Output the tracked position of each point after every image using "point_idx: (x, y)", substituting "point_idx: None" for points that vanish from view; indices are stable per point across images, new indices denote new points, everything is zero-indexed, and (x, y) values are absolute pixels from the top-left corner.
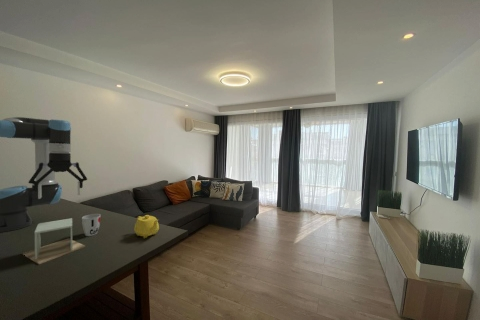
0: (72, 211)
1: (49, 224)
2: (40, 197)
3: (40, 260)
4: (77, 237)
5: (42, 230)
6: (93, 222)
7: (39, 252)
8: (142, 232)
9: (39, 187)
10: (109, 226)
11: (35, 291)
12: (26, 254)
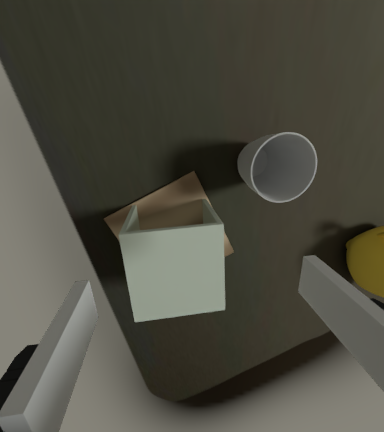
0: None
1: (159, 266)
2: (95, 323)
3: None
4: (216, 167)
5: (152, 316)
6: (277, 195)
7: None
8: (359, 284)
9: (55, 419)
10: (310, 113)
11: (170, 366)
12: (116, 234)
